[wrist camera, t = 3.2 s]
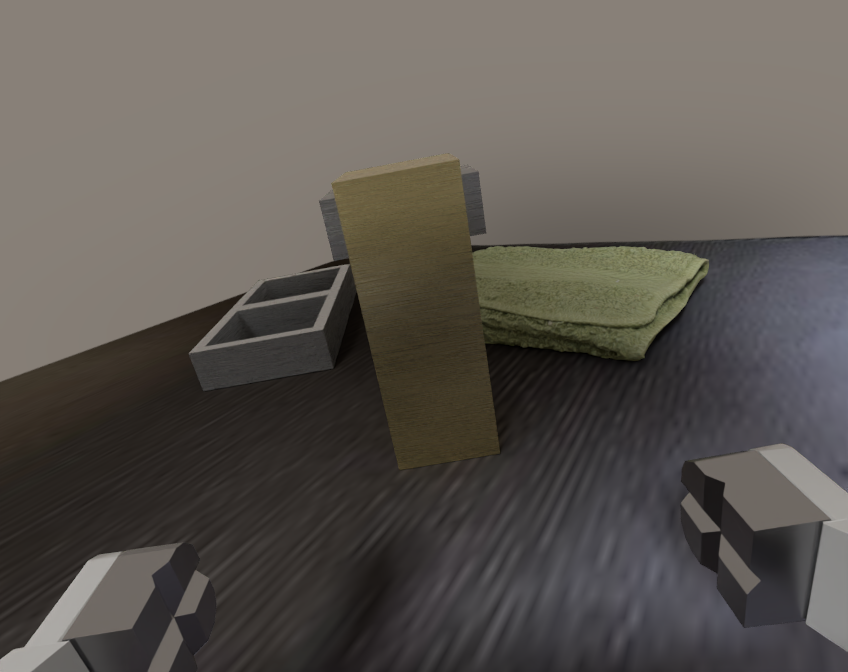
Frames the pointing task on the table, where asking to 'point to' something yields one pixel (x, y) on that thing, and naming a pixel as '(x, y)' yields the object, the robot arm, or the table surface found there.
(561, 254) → the washcloth
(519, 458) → the table surface
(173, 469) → the table surface
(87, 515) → the table surface
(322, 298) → the rack frame
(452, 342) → the pale yellow rectangular block
